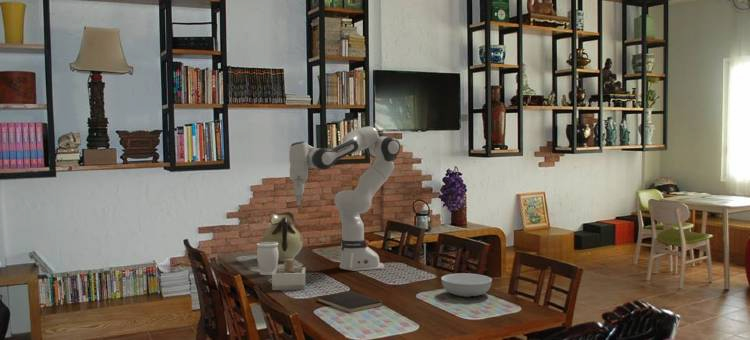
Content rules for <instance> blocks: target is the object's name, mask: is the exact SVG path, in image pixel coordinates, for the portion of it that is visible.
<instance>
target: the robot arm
mask: <svg viewBox="0 0 750 340" xmlns="http://www.w3.org/2000/svg"><path fill="white" fill-rule="evenodd" d="M361 151H366V153H367V155H369V156H371V157H373V158H375V160H374V161H373V163H372V164H371V165H370V166H369V167H368V168H367V169H366V171H365V172H364V173H362V175H361V176H359V179H358V184H357V185H356V187H355V189H353V190H349V189H343V190H340V191H339V192H337V193H336V194H335V196H334V205H335V206H336V208H337V210H338V213H339V218H340V222H341V235H342V237H341V242H340V246H341V248H340V250H341V258H340V264H339V268H340V269H342V270H345V271H346V270H347V271H351V272H352V271H353V272H356V271H370V270H381V269H385V266H384V263H382V262H380V257H379V255H378V253H377V252H376V251H375V250H374V249H372V248H370V247H369V245H370V242H369V240H367V239H365V225H364V222H363V221H362V218H361V215H360V214H363V213H367V212H369V210H370V209H371V207H372V204H373V203H372V200H373V198H374V196H375V194H376V193H377V192H378V191H379V189H380V188H381V187H382V186H383V185H384V184H385V182H387V180H388V179H389V178H390V176H391V175H392V173H393V171H394V169H395V163H394V161H395V160H396V159H397V157H398V155H399V153H400V151H401V143H400V141H399V140H398V139H397V138H396V137H393V136H382V135H381V136H380V135H379V132H378V130H377V129H376V127H374V126H370V125H369V126H363V127H360V128H357V129H354V130H351V131H350V132H347V133H346V134H345V135H344V136H343V137H342V143H340V144H338V145H336V146H334V147H332V148H327V147H323V148H322V147H321V148H320V147H319V148H317V147H314V146H311V145H309V143H307V142H306V141H297V142H293V143H291V144H290V146H289V156H288V157H289V164H290V165H289V180H292V183H293V184H294V186H293V191H294V193H293V194H294V197H296V205H297V206H301V204H302V202H303V201H302V200H303V195H304V192H305V185H306V180H308V179H309V168H312V169H319V170H328V169H330V168H331V167H332V166H333V165H334V164H335V163H336V162H337V161H339V160H340V159H342V158H345V157H348V156H350V155H351V154H356V153H359V152H361Z"/></svg>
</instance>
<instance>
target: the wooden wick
mask: <svg viewBox="0 0 750 340" xmlns="http://www.w3.org/2000/svg"><path fill="white" fill-rule="evenodd" d="M294 262H295V261H294V259H284V261H283V268H284V273H294V267H295V266H294V265H295V264H294Z"/></svg>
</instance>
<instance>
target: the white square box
mask: <svg viewBox="0 0 750 340" xmlns="http://www.w3.org/2000/svg"><path fill="white" fill-rule="evenodd" d="M306 269H307V268H306V266H297V267H295V266H294V273H284V267H277V268H274V271H273V273H272V275H271V290H272V291H288V290H289V291H291V290H294V291H295V290H305V288H306V281H307V280H306V279H307V276H306V275H307V274H306V273H307V272H306Z"/></svg>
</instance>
